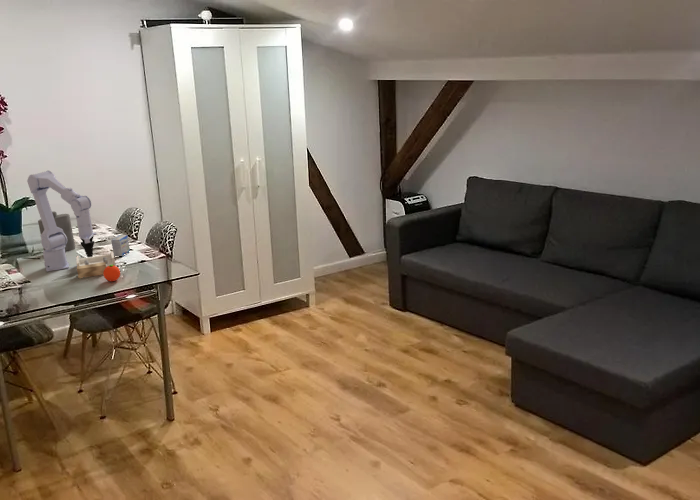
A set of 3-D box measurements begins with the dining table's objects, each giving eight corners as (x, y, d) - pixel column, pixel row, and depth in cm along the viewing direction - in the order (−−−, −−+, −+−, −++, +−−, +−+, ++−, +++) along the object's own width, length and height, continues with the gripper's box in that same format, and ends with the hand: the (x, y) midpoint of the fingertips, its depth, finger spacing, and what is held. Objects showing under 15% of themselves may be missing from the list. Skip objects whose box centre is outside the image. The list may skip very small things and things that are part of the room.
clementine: (107, 277, 304) (105, 262, 301) (123, 276, 304) (121, 261, 302) (102, 284, 296) (100, 268, 294) (119, 283, 297) (116, 267, 294)
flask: (71, 246, 349) (64, 207, 342) (77, 248, 345) (70, 209, 338) (42, 254, 339) (34, 214, 332) (47, 256, 335) (39, 216, 328)
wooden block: (78, 278, 304) (76, 269, 303) (78, 276, 308) (76, 266, 307) (107, 274, 308) (105, 264, 307) (106, 271, 312) (105, 262, 311)
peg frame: (78, 272, 311) (76, 263, 310) (78, 265, 321) (76, 256, 319) (115, 267, 316) (114, 257, 315) (114, 259, 326) (112, 250, 325)
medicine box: (122, 257, 329) (119, 240, 326) (113, 257, 330) (110, 239, 327) (130, 251, 336) (127, 234, 334) (122, 251, 337) (119, 234, 335)
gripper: (95, 227, 296) (100, 257, 300) (93, 219, 309) (98, 248, 313) (77, 230, 293) (82, 260, 298) (76, 221, 306) (82, 250, 311)
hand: (89, 254), depth 305 cm, fingers open, 7 cm apart
